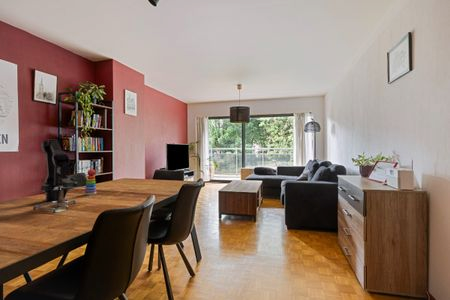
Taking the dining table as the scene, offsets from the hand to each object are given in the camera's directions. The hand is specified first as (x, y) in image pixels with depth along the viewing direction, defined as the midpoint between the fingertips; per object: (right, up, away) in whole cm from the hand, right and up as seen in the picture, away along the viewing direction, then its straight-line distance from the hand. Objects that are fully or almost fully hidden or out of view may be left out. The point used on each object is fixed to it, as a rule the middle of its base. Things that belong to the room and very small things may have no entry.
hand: (60, 200), depth 144 cm
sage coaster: (+8, -4, -12) cm, 15 cm away
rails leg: (+2, -3, -10) cm, 10 cm away
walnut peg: (0, -2, 0) cm, 2 cm away
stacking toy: (0, -3, +33) cm, 33 cm away
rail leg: (-1, -3, -2) cm, 4 cm away
